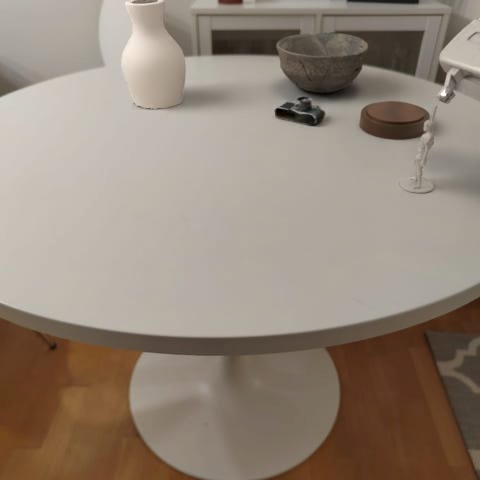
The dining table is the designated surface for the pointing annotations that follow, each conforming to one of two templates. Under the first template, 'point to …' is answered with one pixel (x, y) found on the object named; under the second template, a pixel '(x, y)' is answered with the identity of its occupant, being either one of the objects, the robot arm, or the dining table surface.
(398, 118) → the stand
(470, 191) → the dining table surface
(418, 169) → the figurine
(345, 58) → the bowl
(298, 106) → the camera
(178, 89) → the vase
